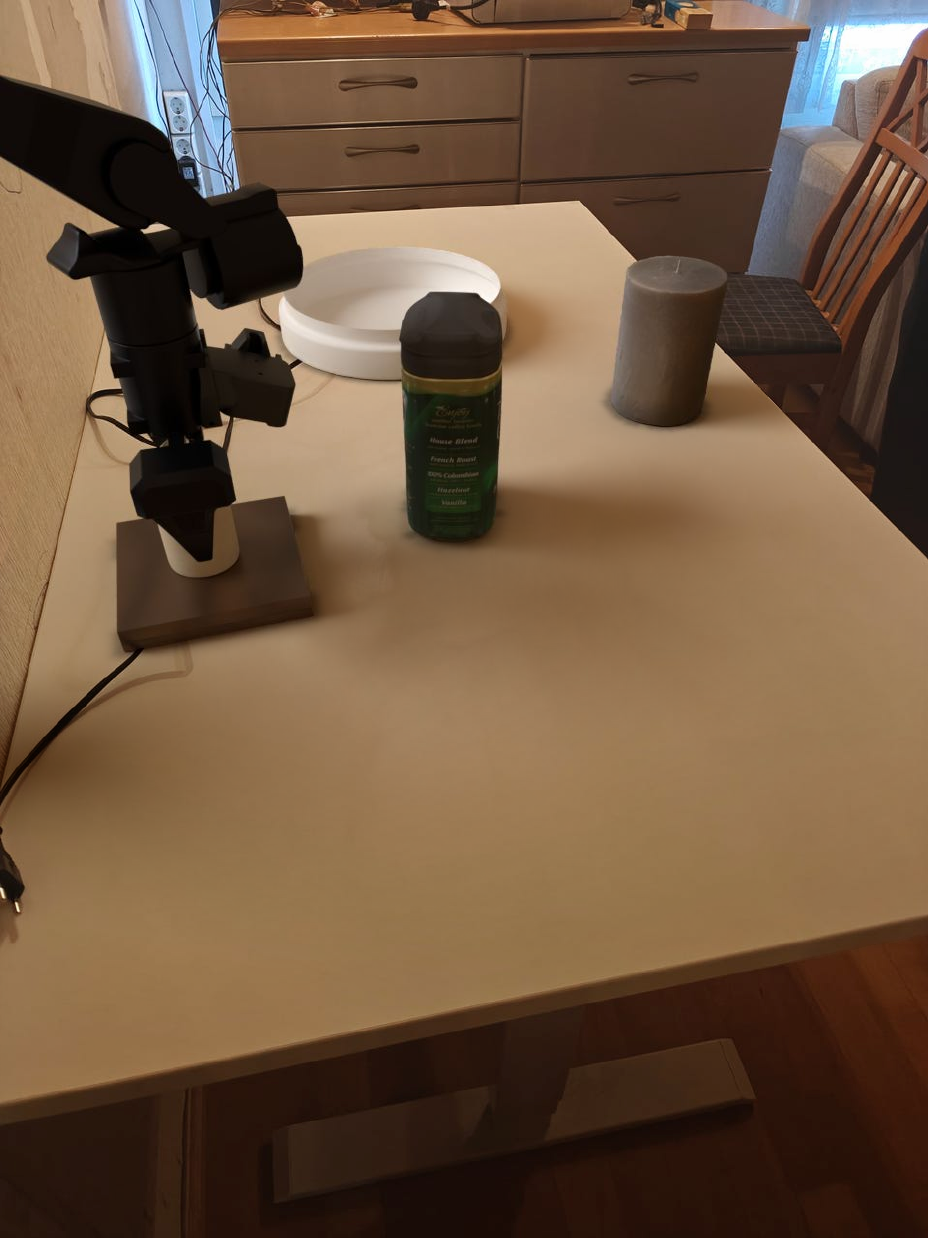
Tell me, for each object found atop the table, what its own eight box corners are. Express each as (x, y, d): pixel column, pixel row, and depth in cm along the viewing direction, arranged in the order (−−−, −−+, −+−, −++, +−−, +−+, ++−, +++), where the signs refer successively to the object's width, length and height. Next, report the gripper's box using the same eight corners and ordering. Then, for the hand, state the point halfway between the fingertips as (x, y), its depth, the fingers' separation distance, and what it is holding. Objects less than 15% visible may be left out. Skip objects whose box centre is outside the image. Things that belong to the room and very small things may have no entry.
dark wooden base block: (123, 652, 64) (116, 632, 62) (122, 541, 74) (115, 522, 72) (313, 615, 67) (310, 595, 65) (287, 514, 77) (284, 495, 75)
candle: (167, 543, 70) (136, 432, 63) (236, 530, 71) (212, 421, 65) (171, 584, 66) (138, 471, 59) (244, 571, 67) (220, 459, 61)
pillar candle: (719, 419, 89) (752, 271, 79) (632, 433, 87) (654, 283, 77) (676, 377, 96) (701, 236, 86) (594, 389, 94) (610, 246, 84)
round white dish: (525, 297, 113) (528, 254, 109) (476, 393, 93) (477, 345, 89) (329, 278, 118) (325, 236, 114) (244, 365, 98) (236, 318, 94)
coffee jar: (498, 546, 73) (506, 334, 61) (404, 545, 73) (392, 333, 61) (497, 483, 80) (503, 281, 68) (411, 482, 80) (402, 280, 68)
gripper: (298, 374, 51) (326, 579, 62) (260, 264, 65) (288, 447, 75) (100, 401, 49) (164, 609, 59) (103, 280, 62) (154, 467, 73)
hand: (200, 524), depth 67 cm, fingers open, 9 cm apart
